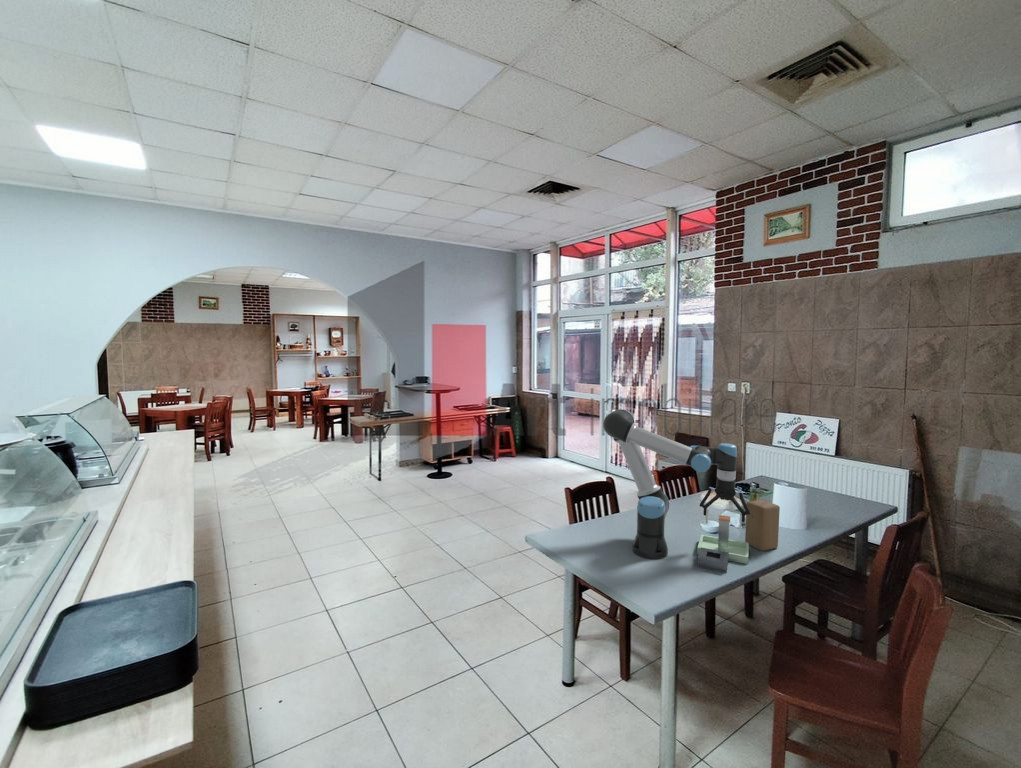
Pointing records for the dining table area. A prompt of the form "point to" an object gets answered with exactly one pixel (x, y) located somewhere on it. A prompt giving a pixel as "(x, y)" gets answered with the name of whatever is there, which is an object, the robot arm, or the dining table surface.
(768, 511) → the wooden block
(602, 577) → the dining table surface
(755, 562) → the dining table surface
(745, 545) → the tray
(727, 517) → the pin
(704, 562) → the block
